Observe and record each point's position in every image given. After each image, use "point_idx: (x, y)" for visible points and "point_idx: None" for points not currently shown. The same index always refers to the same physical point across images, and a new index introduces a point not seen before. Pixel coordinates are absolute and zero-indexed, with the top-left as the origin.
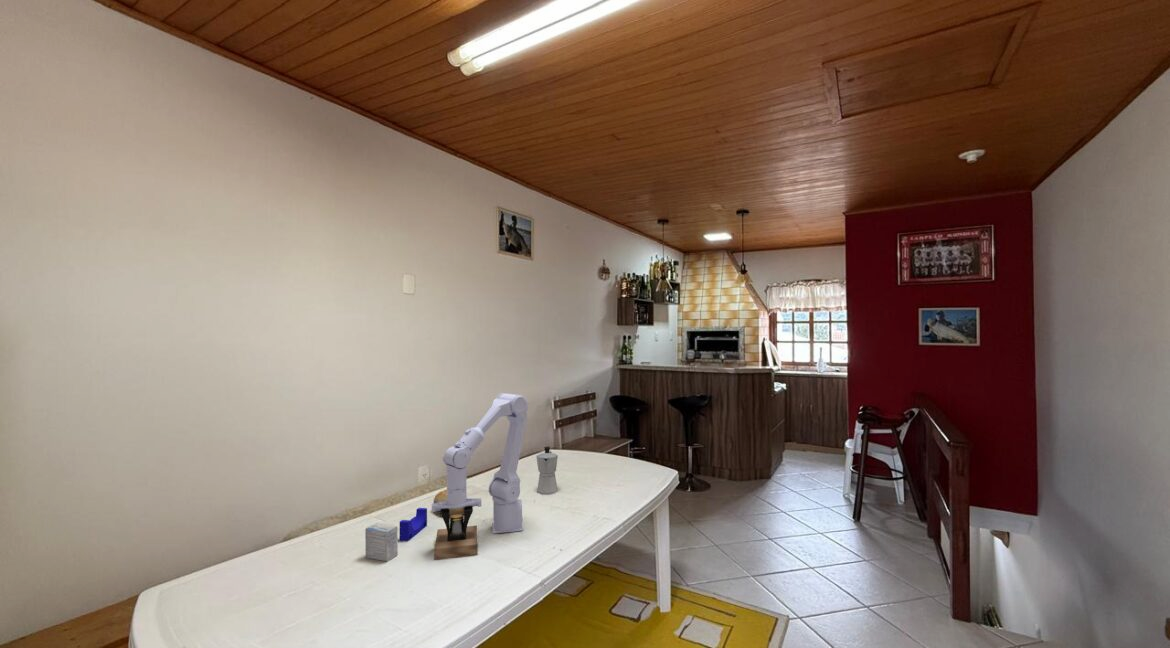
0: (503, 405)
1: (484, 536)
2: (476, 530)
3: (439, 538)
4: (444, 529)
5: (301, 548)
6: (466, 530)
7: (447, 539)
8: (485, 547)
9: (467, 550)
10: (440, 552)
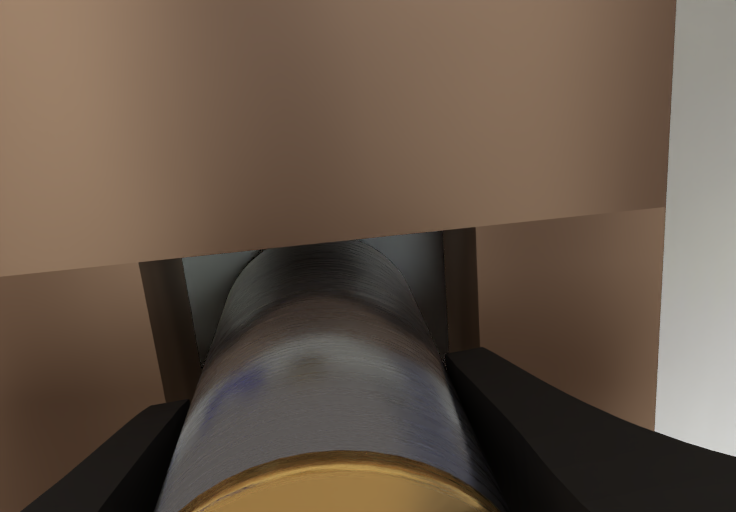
0: None
1: (704, 42)
2: (657, 194)
3: (33, 428)
4: (8, 25)
5: None
6: (476, 160)
7: (171, 361)
8: (683, 392)
9: None
10: None
